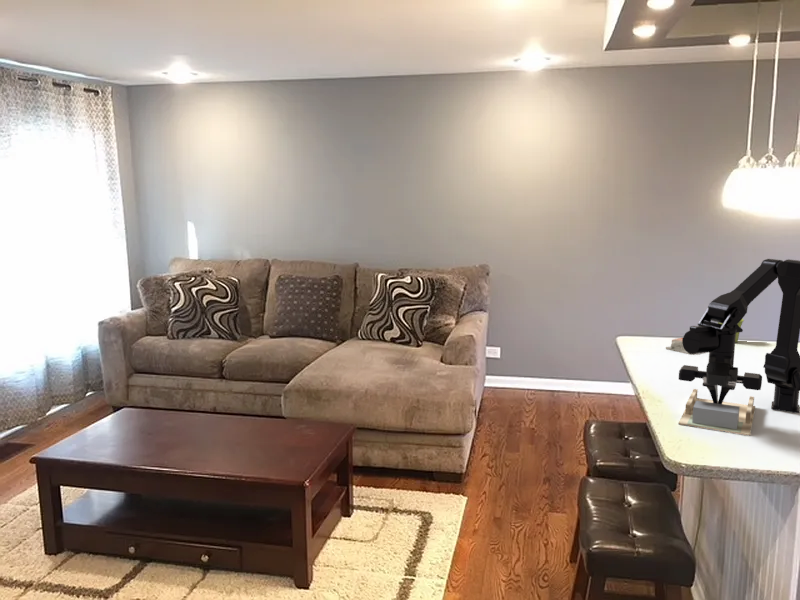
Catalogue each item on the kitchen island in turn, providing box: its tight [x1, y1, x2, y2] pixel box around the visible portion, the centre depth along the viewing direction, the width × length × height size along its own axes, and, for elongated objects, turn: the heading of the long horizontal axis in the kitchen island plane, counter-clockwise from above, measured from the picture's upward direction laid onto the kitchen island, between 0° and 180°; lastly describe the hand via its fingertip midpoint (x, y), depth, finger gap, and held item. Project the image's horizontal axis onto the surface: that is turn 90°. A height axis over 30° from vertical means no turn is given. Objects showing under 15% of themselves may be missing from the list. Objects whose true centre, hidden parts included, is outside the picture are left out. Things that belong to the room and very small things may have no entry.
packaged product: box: [665, 337, 690, 355], centre depth 249 cm, size 18×5×10 cm
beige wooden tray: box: [678, 388, 756, 437], centre depth 177 cm, size 24×16×3 cm, turn 150°
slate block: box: [692, 401, 740, 429], centre depth 170 cm, size 6×10×4 cm, turn 60°
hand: (717, 409), depth 174 cm, fingers closed, pressing on slate block
